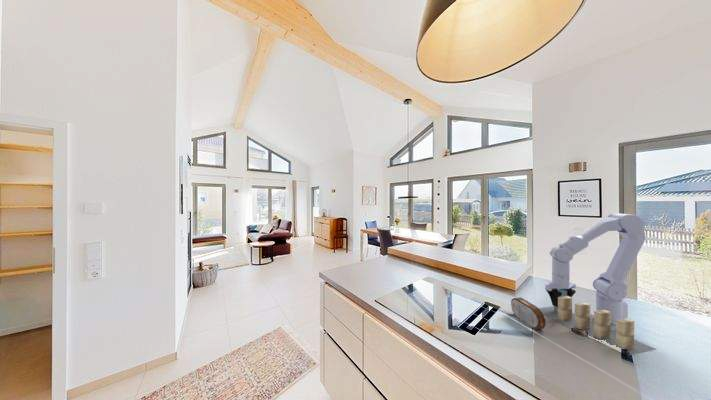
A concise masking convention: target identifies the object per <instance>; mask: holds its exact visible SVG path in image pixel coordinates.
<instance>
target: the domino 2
mask: <svg viewBox="0 0 711 400" xmlns="http://www.w3.org/2000/svg"><path fill="white" fill-rule="evenodd" d="M572 313H573V297H572V298H571V297H569V296H563V297H558V319H559V320H561V321H567V320H572Z"/></svg>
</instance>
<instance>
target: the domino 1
mask: <svg viewBox="0 0 711 400" xmlns="http://www.w3.org/2000/svg"><path fill="white" fill-rule="evenodd" d="M558 292H561V293H563V294H562V295H561V297H563V296H567V291H566V290H564V289H560V290H559V289H558ZM553 306H554V305H553ZM554 311H556V312H558V307H556V306H554Z"/></svg>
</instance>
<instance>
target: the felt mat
mask: <svg viewBox="0 0 711 400" xmlns="http://www.w3.org/2000/svg"><path fill="white" fill-rule="evenodd" d="M538 308H539V309H540V310H541V312H542V313H543V315H544V317H547V318H548V319H551V320H553V321H554V322H557V323H558V324H561V325H563V326H565V327H567V328H569V327H570V328H569V329H571V328H576V327H575V312H574V313H573V312H572V320H567V321H561V320H559V319H558V312H556V311H554V305H552V306H547V307H546V306H544V307H538ZM582 330H584V331H587V332H588V335H589V336H591V337H593V338H595V339H598V340H604V341H605V340H606V342H607V343H609V344H610V345H616V330H614V329H611V334H610V337H609V338H603V339H599V338H597V337H595V336H594V321H592V320H590V328H587V329H582ZM601 342H602V341H601ZM597 343H599V341H598V342H597ZM657 350H658V349H657V348H656V347H653V346H650V345H648V344H646V343H643V342H641V341H638V340H636V339H634V348H632V349H628V352H629V353H630V355H629V356H631V355H632V356H633V355H636V354H637V355H638V354H642V353H647V352H652V351H657Z"/></svg>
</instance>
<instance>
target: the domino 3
mask: <svg viewBox="0 0 711 400" xmlns="http://www.w3.org/2000/svg"><path fill="white" fill-rule="evenodd" d="M574 314H575V327H576V328H578V329H587V328H590V321H591V315H590V314H591V304H590V303H587V302H578V303H574Z"/></svg>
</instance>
